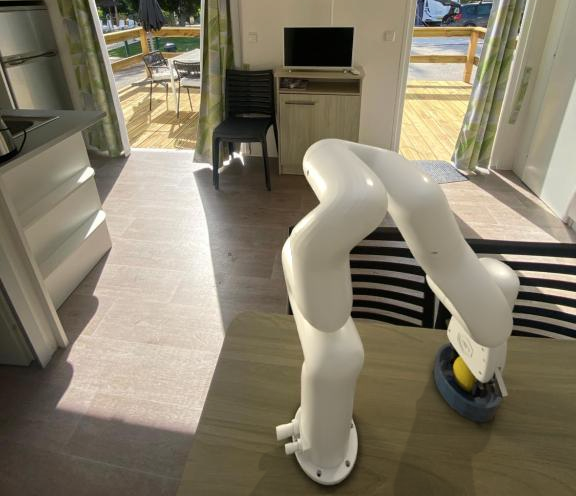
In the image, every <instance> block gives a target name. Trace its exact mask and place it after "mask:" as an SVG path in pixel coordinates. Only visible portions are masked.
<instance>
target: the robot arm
mask: <svg viewBox="0 0 576 496" xmlns="http://www.w3.org/2000/svg"><path fill="white" fill-rule="evenodd" d="M302 169H303V175H304V176H305V179H306V180H307V183H308V184H309V186H310V187H311V189H312V191H313V192H314V194H315V195H316V198H317V199H318V201H319V204H318V205H317V206H316V207H314V209H312V210H311V211H309V212H308V213H307V214H306V215H305V216H304V217H303V218H302V219H301V220H300V221H298V223H296V225H295V226H294V227H293V228H292V230H291V233H290V235H289V236H288V238H287V239H286V240H285V242H284V244H283V247H282V251H281V263H282V268H283V275H284V279H285V284H286V285H285V286H286V290H287V294H288V299H289V303H290V308H291V312H292V314H293V318H294V321H295V325H296V328H297V333H298V338H299V340H300V344H301V349H302V352H303V358H304V360H303V362H302V367H301V373H300V374H301V375H300V387H301V388H300V406H299V408H298V409H297V411H296V413H295V416H294V418H293V419H291V422H289V423H286V424H280V425H277V426H275V431H276V432H275V433H276V439H277V440H276V441H277V442H279V441H283V440H286V439H288V438H290V437H292V442H291V441H290V442H288V443H285V444H284V449H285V455H286V456H289V455H292V454H295V457H296V460H297V463H299V466H300V468H301V469H302V470H303V472H304V473H305V475H307V476H308V477H309V478H310V479H311V480H313V481H314V482H316V483H318V484H319V485H323V486H324V485H325V486H333V485H336V484H339V483H341V482H342V481H344V480H345V479H346V478H347V477H348V476H349V475H350V474H351V472H352V470H353V468H354V467H355V464H356V460H357V454H358V446H359V445H358V444H359V441H358V433H357V429H356V428H357V427H356V425H355V423H354V420H353V411H354V402H355V393H356V385H357V380H358V378H359V376H360V373H361V372H362V369H363V366H364V363H365V349H364V345H363V342H362V339H361V335H360V333H359V331H358V329H357V326H356V324H355V321H354V319H353V317H352V316H351V312H352V308H353V302H354V299H353V297H354V296H353V284H352V274H351V265H350V252H351V251H352V250H353V249H354V248H355V247H356V246H357V245H358V244H359V243H360V242H362V240H364V239H365V238H367V237H368V236H369V235H370V234H372V233H373V232H374V231H376V229H377V228H379V226H380V225H381V224H382V222H383V221H384V219H385V217H386V216H387V212H388V214H389V215H390V217H391V218H392V220H393V222H394V224H395V226H396V227H397V229H398V231H399V233H400V234H401V237H402V238H403V239H404V241H405V243H406V245H407V248H408V249H409V250H410V253H411V254H412V256H413V258H414V259H415V261H416V262H417V263H418V265H419V266H420V268H421V269H422V270H423V271H424V273H425V274H426V275H425V278H426V282H427V285H428V287H429V288H430V289H431V291H432V292H433V293H434V296H436V297H437V298H438V299H439V301H440V302H441V303H442V304H443V306H444V307H445V308H446V310H448V311H449V313H450V314H451V318H447V319H445V324H446V327H447V331H446V334H447V338H448V340H449V343H450V346H451V348H452V351H451V356H450V360H449V362H450V363H451V364H452V365H454V362H455V360H456V359H457V358H458V357H459V356H461V358H462V359H463V361H464V362H465V363H466V365H467V366H468V368H469V369H470V370H471V372H472V373H473V374H474V376H475V377H476V378H477V381H476V382H474V385H473V389H472V392H471V395H472V396H473V398H476V397H480V398H485V397H486V396H487V393H488V391H489V392H491V393H495V394H496V395H497V396H499V397H501V399H504V398H507V397H509V394H508V390H507V388H506V384H505V381H504V379H503V376H502V375H503V373H504V370H505V366H506V361H507V352H508V350H507V349H508V340H509V338H510V337H511V335H512V332H513V328H514V320H513V319H514V318H513V314H512V313H513V311H514V307H515V304H516V301H517V297H518V294H519V293H520V292H519V291H520V287H521V283H520V279H519V277H518V275H517V273H516V271H514V269H512V268H511V266H509V265H507V264H506V263H505V262H502V261H501V260H498V259H496V258H492V257H485V256H484V257H480V258H479V257H478V256H477V254H476V253H475V251H474V250H473V248H472V247H471V246H470V245H469V243H468V242H467V241H466V239H465V238H464V235H463V233H462V232H461V228H460V227H459V225H458V222H457V220H456V217H455V215H454V213H453V210H452V208H451V206H450V203H449V200H448V198H447V196H446V193H445V192H444V190H443V188H442V187H441V185H440V184H439V182H438V181H436V179H435V178H434V177H433V176H431V175H430V174H429V173H428V172H426V171H425V170H424V169H422V168H421V167H419V166H418V165H416V164H415V163H414V162H413V161H411V160H410V159H408V158H407V157H405V156H404V155H403V154H401V153H400V152H399V153H398V152H396V151H394V150H390V149H386V148H382V147H378V146H374V145H368V144H364V143H360V142H354V141H350V140H345V139H341V138H340V139H339V138H324V139H320V140H318V141H316V142H314V143H313V144H311V146H309V147H308V149H307V150H306V151H305V153H304V155H303V160H302ZM318 475H319V476H318Z"/></svg>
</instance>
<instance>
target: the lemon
mask: <svg viewBox="0 0 576 496" xmlns="http://www.w3.org/2000/svg"><path fill="white" fill-rule="evenodd" d="M453 374H454V377H455V380H456V382H457V383H458V385H459V386H460V387H461V388H462V389H464V390H465V391H467V392H472V389H473V385H474V382H476V381H477V378H476V377H475V376H474V374H473V373H472V372H471V370H470V369H469V368H468V366H467V365H466V363H465V362H464V361H463V359H462V358H461V356H459V357H458V358H457V359H456V360H455V362H454V366H453Z"/></svg>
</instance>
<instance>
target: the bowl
mask: <svg viewBox="0 0 576 496" xmlns="http://www.w3.org/2000/svg"><path fill="white" fill-rule="evenodd" d="M450 343H451V342H447V343H445V344H443V345H442V346H441V347H439V348H438V351H437V354H436V358H435V362H434V366H433V378H434V382H435V385H436V388H437V389H438V391H439V393H440V394H441V397H442V398H443V400H444V401H445V402H446V403H447V404H448V405H449V406H450V407H451V408H452V409H453V410H454V411H455V412H457V413H458V414H459V415H461V416H462V417H464V418H467V419H469V420H471V421H474V422H481V423H485V422H488V421H490V420H492V419H493V418H494V417H495V416H496V415H497V412H498V410H499V406H500V404H501V401H502V398H501V397H499V396H497V395H496V394H495V393H491V392H489V391H488V393H487V396H486V397H485V398H480V397H476V398H473V396H472V395H471V392H467V391H465V390H464V389H462V388H461V387H460V386H459V385H458V383H457V382H456V380H455V377H454V374H453V366H454V365H452V364H451V363H450V362H449V360H450V356H451V351H452V348H451V346H450Z"/></svg>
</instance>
